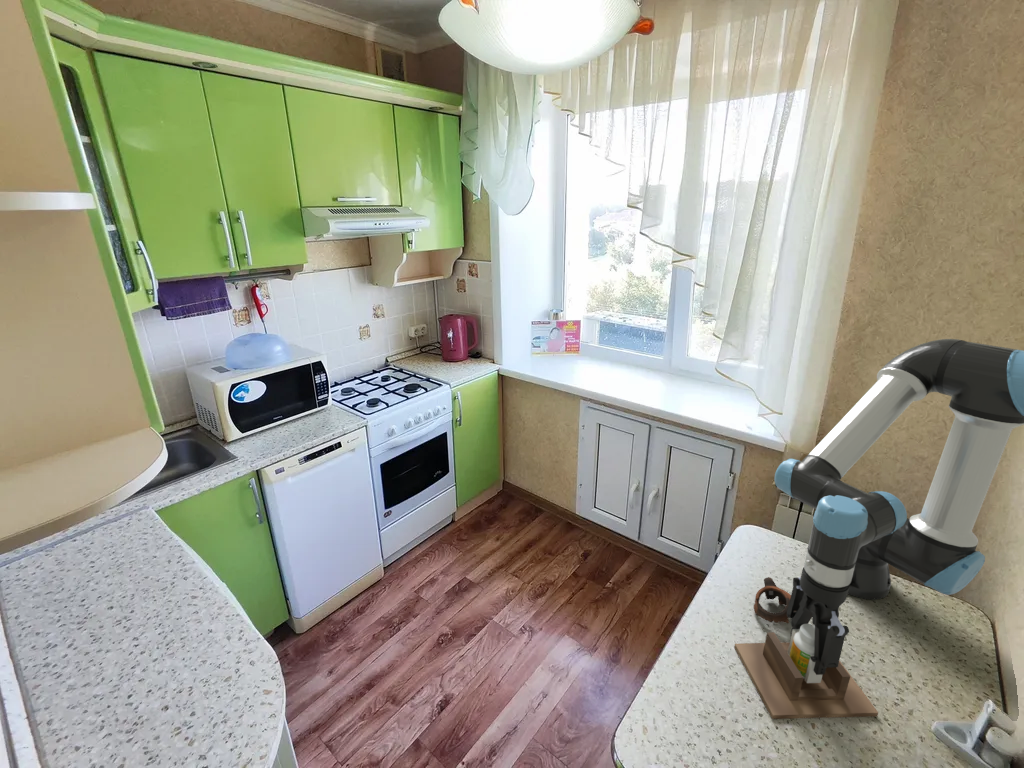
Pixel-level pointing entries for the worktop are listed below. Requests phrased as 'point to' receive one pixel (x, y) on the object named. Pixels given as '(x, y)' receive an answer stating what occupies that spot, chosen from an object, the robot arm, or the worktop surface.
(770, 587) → the pottery mug
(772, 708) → the wooden cradle tray
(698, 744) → the worktop surface
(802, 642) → the supplement bottle
